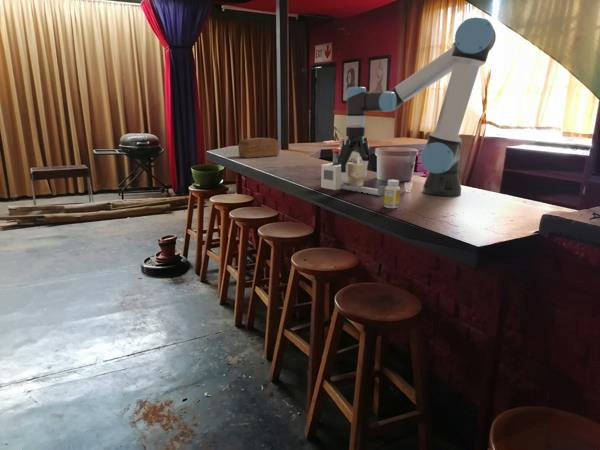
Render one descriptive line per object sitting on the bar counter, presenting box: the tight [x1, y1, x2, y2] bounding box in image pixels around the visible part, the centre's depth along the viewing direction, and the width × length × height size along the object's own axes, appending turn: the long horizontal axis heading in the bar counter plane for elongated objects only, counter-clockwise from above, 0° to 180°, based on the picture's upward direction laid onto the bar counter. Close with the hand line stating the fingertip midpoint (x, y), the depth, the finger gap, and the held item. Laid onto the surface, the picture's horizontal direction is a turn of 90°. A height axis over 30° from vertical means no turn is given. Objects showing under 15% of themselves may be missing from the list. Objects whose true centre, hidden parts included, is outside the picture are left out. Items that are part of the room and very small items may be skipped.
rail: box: [340, 184, 386, 197], centre depth 180 cm, size 20×4×4 cm, turn 47°
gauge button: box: [331, 147, 341, 165], centre depth 186 cm, size 4×4×7 cm
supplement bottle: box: [383, 179, 401, 209], centre depth 155 cm, size 5×5×10 cm
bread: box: [237, 137, 281, 159], centre depth 289 cm, size 14×28×12 cm, turn 126°
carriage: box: [343, 162, 365, 187], centre depth 182 cm, size 7×5×9 cm
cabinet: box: [320, 162, 343, 191], centre depth 189 cm, size 8×10×10 cm
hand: (354, 178), depth 182 cm, fingers open, 13 cm apart
